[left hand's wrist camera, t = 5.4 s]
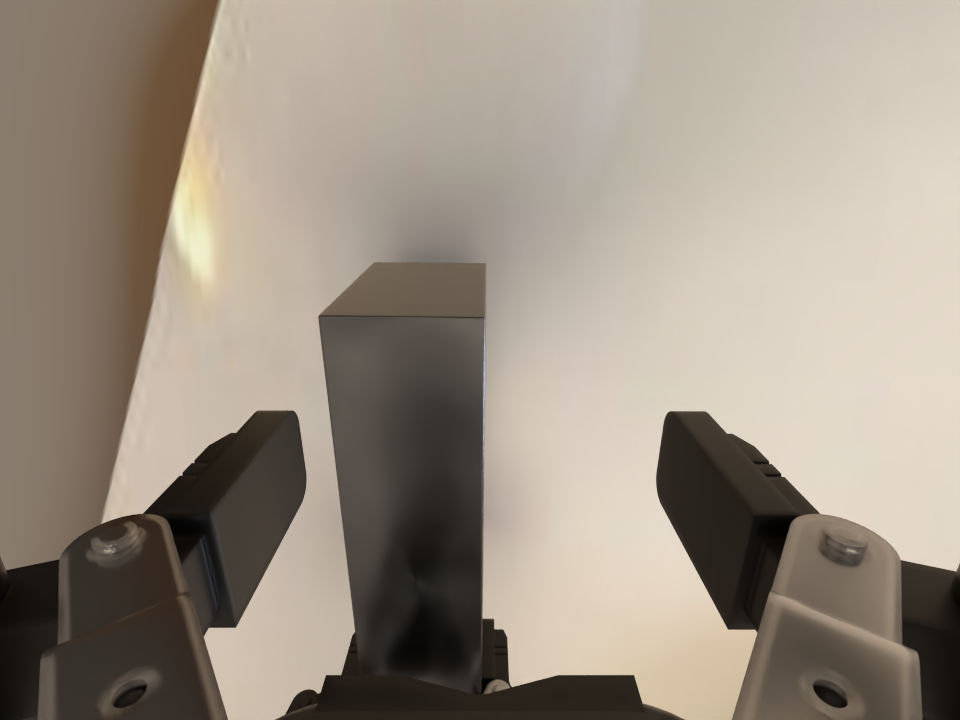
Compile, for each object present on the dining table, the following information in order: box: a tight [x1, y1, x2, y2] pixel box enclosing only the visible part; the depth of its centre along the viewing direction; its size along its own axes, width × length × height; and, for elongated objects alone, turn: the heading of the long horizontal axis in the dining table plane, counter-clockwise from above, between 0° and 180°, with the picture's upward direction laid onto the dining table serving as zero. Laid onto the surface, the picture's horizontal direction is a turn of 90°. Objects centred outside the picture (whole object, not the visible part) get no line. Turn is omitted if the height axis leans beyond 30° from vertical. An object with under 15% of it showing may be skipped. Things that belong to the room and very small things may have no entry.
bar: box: [318, 262, 486, 694], centre depth 26 cm, size 23×6×9 cm, turn 0°
